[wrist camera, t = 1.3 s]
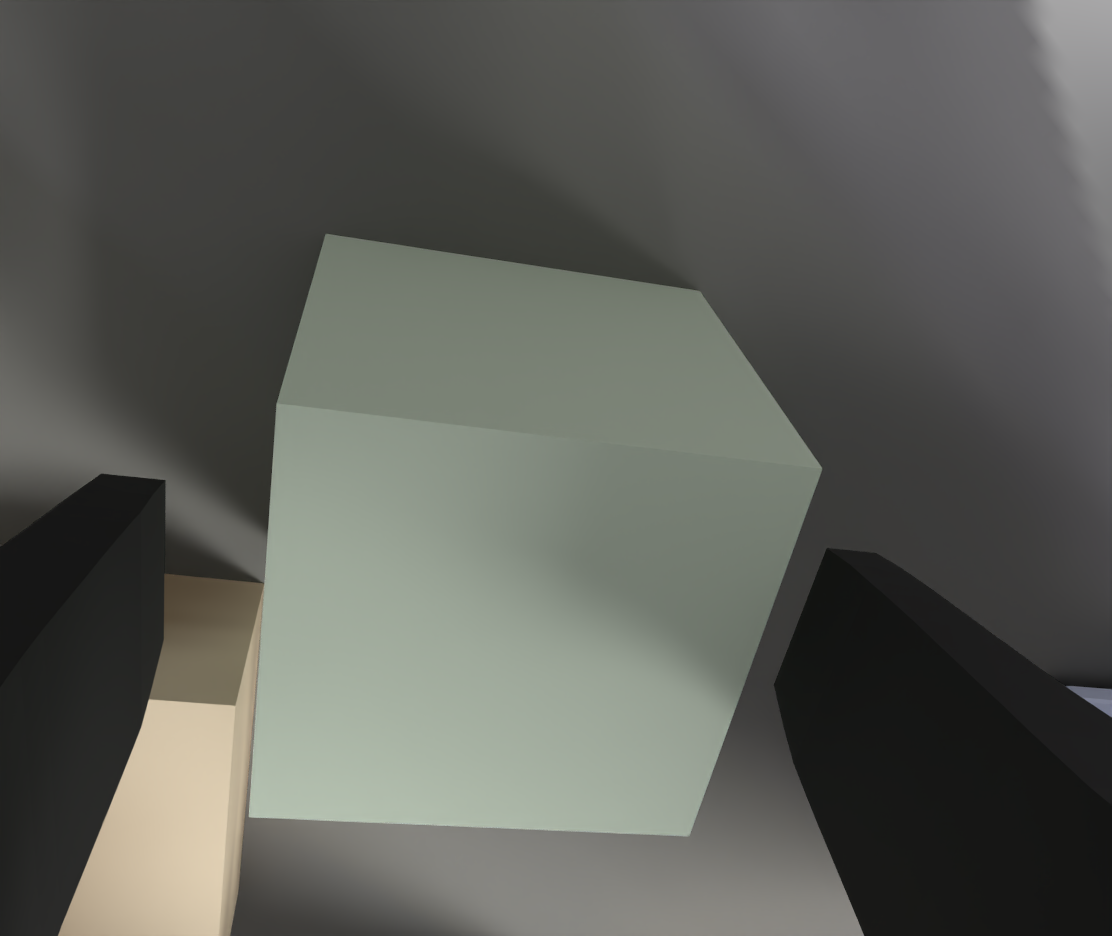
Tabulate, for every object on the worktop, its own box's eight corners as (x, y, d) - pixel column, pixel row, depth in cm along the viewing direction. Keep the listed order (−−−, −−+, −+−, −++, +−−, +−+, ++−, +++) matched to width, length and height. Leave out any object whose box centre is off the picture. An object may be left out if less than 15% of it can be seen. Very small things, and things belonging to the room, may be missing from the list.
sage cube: (698, 289, 14) (822, 469, 10) (618, 584, 16) (688, 836, 12) (326, 231, 13) (276, 403, 9) (298, 554, 15) (248, 817, 11)
